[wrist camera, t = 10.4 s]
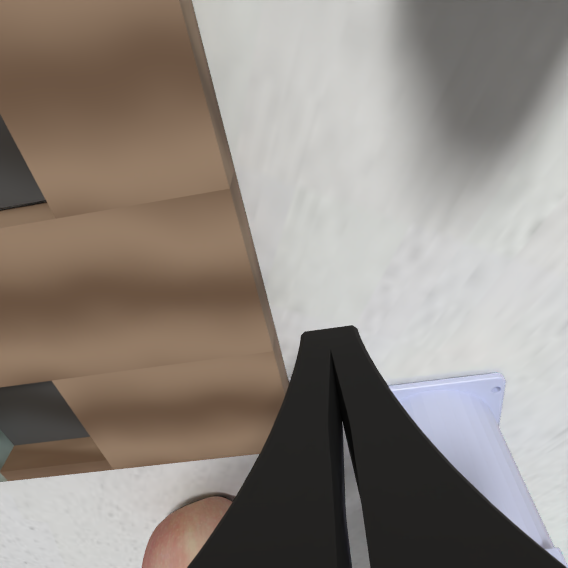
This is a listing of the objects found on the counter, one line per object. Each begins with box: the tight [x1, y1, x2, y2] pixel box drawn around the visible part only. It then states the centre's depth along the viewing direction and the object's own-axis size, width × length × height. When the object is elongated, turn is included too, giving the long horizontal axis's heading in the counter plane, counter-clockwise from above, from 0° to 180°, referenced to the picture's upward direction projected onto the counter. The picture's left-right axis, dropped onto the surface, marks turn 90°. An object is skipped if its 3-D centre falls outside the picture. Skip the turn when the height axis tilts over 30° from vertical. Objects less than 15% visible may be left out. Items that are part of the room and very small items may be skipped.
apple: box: [142, 497, 232, 568], centre depth 30 cm, size 8×8×8 cm
